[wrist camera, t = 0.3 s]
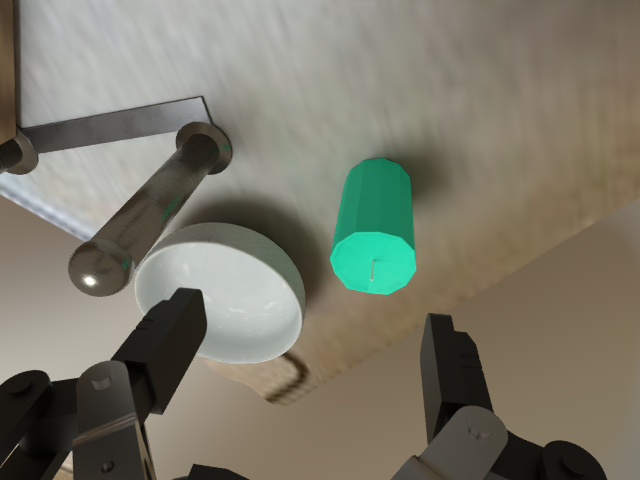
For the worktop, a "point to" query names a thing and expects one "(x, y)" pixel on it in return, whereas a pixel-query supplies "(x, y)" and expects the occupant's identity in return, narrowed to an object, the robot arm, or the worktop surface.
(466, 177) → the worktop surface
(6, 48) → the gate
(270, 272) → the cereal bowl
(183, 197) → the gate posts
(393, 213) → the candle
